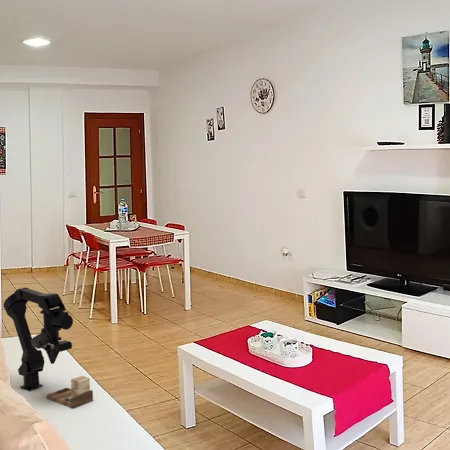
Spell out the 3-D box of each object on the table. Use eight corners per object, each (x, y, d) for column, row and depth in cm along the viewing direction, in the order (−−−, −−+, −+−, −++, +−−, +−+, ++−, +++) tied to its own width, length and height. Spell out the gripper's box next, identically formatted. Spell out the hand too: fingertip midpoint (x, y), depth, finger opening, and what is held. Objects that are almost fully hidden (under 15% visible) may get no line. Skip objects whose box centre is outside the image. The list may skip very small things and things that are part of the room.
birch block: (71, 397, 226) (71, 379, 225) (81, 393, 230) (81, 375, 229) (79, 400, 223) (79, 381, 222) (90, 396, 227) (89, 378, 226)
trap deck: (46, 398, 229) (46, 388, 229) (66, 391, 237) (66, 381, 236) (73, 408, 219) (72, 398, 219) (92, 400, 227) (92, 390, 226)
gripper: (19, 326, 229) (21, 364, 231) (48, 333, 218) (49, 374, 219) (43, 320, 238) (44, 357, 239) (72, 327, 227) (73, 366, 228)
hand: (52, 363), depth 231 cm, fingers closed
